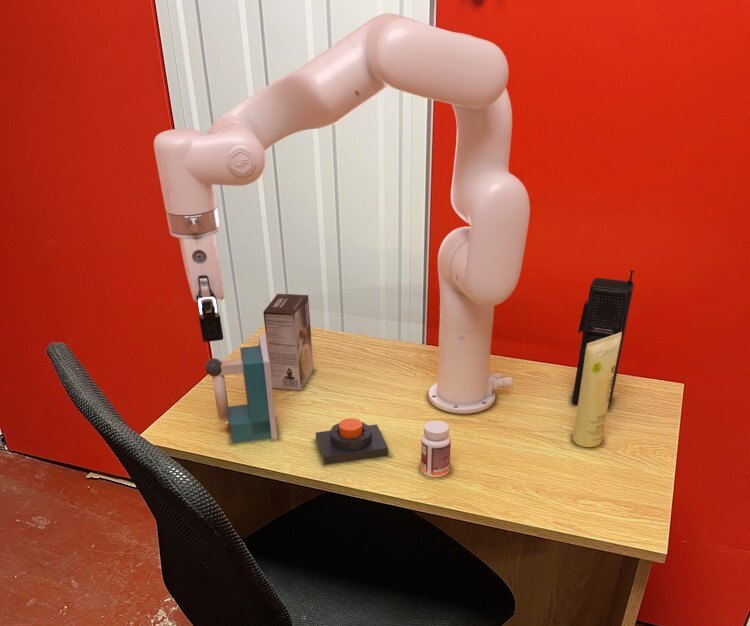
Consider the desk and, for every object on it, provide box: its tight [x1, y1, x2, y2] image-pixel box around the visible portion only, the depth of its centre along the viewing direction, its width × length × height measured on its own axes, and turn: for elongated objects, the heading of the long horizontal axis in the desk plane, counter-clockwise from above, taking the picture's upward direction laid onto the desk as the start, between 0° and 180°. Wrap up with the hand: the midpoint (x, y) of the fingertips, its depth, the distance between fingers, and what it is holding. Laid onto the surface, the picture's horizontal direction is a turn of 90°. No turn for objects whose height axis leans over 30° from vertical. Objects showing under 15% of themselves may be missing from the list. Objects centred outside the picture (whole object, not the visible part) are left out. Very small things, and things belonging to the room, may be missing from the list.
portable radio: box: [571, 269, 635, 410], centre depth 139 cm, size 8×6×25 cm
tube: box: [572, 332, 622, 448], centre depth 129 cm, size 6×5×20 cm
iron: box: [204, 334, 278, 444], centre depth 133 cm, size 18×8×10 cm
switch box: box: [315, 421, 389, 466], centre depth 133 cm, size 11×8×4 cm
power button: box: [338, 417, 363, 438], centre depth 132 cm, size 4×4×2 cm
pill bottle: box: [420, 419, 452, 478], centre depth 126 cm, size 5×5×8 cm
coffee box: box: [262, 293, 314, 391], centre depth 150 cm, size 9×6×16 cm
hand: (211, 327), depth 126 cm, fingers open, 9 cm apart
